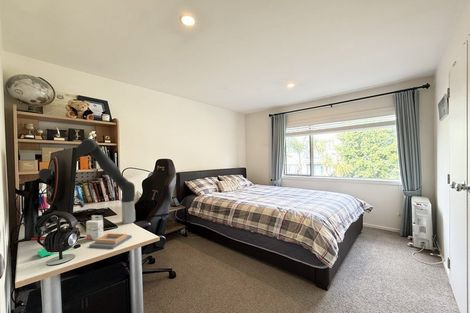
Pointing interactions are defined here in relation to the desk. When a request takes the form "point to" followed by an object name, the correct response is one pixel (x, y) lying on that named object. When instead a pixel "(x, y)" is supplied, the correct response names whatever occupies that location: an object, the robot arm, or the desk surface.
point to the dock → (110, 240)
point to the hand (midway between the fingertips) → (77, 208)
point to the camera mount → (44, 252)
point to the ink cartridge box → (94, 227)
